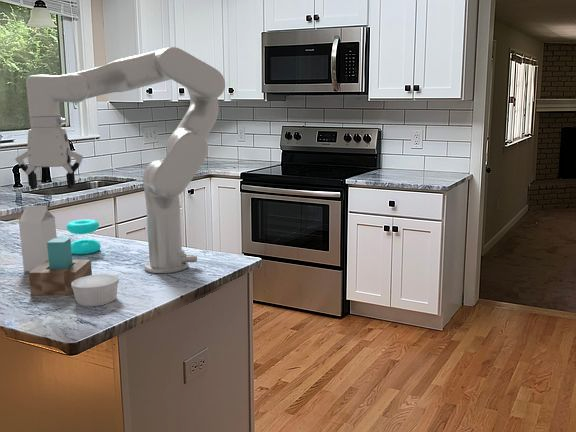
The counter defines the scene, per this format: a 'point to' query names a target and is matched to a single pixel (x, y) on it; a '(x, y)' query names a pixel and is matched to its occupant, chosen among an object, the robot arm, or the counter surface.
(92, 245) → the teal stacked rings
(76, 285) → the ramekin
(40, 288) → the socket block
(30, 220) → the milk carton
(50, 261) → the peg
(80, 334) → the counter surface
